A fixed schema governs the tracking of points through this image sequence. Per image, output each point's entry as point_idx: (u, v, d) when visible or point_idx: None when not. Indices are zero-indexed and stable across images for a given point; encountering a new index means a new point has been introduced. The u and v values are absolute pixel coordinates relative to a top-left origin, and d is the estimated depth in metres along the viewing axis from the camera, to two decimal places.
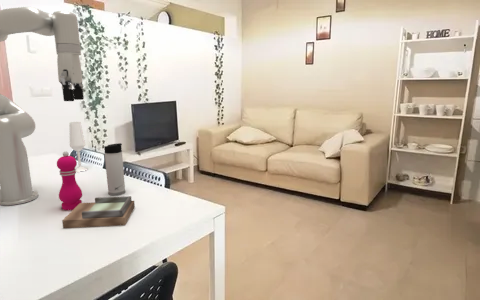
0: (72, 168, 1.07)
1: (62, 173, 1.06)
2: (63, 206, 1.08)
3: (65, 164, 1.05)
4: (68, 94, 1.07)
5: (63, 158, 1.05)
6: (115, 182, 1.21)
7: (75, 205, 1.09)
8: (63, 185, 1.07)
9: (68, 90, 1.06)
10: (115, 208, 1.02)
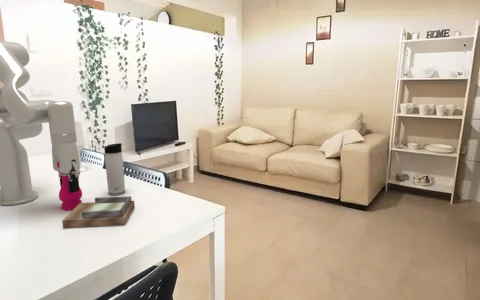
0: None
1: (62, 173, 1.06)
2: (63, 206, 1.08)
3: None
4: (76, 185, 1.07)
5: None
6: (115, 182, 1.21)
7: (75, 205, 1.09)
8: (63, 185, 1.07)
9: (76, 181, 1.07)
10: (115, 208, 1.02)
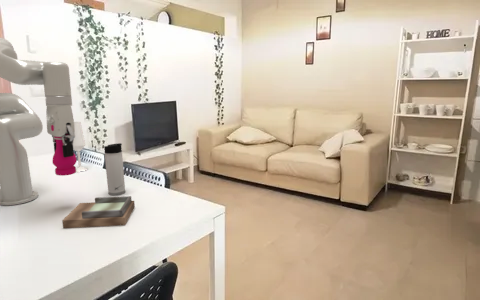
0: None
1: (56, 137, 1.04)
2: (56, 171, 1.06)
3: None
4: (70, 150, 1.05)
5: None
6: (115, 182, 1.21)
7: (69, 170, 1.06)
8: (57, 149, 1.05)
9: (70, 146, 1.04)
10: (115, 208, 1.02)
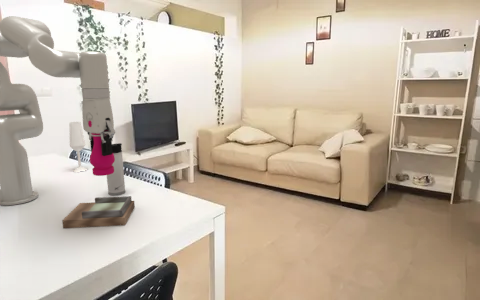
0: None
1: (94, 133, 0.95)
2: (95, 171, 0.97)
3: None
4: (109, 147, 0.96)
5: None
6: (115, 182, 1.21)
7: (108, 170, 0.98)
8: (95, 147, 0.96)
9: (109, 143, 0.96)
10: (115, 208, 1.02)
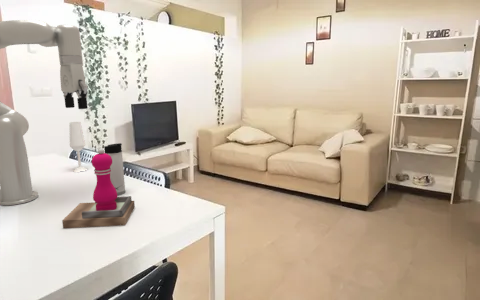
0: (108, 167, 0.98)
1: (97, 172, 0.97)
2: (98, 208, 0.99)
3: (101, 163, 0.96)
4: (84, 102, 1.16)
5: (98, 156, 0.97)
6: (115, 182, 1.21)
7: (110, 207, 1.00)
8: (98, 185, 0.99)
9: (84, 99, 1.16)
10: None
